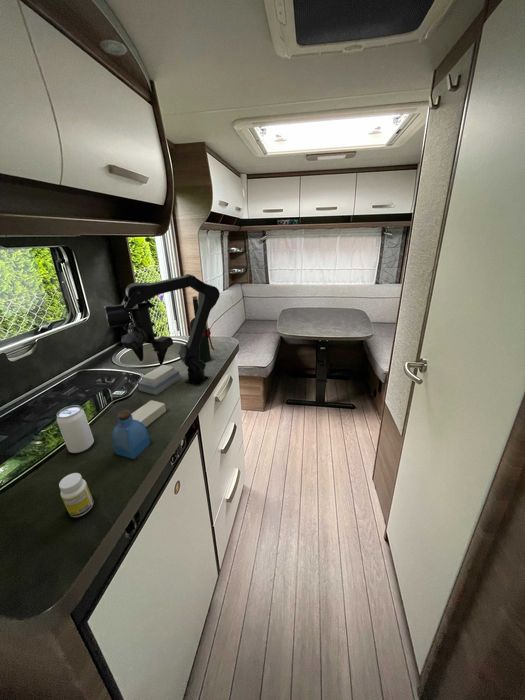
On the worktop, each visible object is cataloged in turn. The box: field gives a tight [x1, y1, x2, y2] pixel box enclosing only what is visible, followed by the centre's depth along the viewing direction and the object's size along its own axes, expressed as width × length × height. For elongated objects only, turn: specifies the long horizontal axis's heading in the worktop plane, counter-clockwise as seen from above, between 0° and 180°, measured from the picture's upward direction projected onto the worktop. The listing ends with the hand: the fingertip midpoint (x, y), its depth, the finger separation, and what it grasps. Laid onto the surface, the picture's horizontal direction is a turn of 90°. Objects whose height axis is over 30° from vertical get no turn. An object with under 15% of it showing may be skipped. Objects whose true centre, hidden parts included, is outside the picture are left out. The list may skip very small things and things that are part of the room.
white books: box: [131, 399, 167, 428], centre depth 90 cm, size 11×6×3 cm, turn 156°
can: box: [56, 404, 95, 454], centre depth 77 cm, size 6×6×12 cm
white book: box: [141, 364, 175, 384], centre depth 109 cm, size 11×6×2 cm, turn 156°
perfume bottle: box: [110, 409, 151, 460], centre depth 76 cm, size 6×6×12 cm
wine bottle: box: [189, 295, 215, 364], centre depth 126 cm, size 8×10×30 cm
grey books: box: [137, 369, 182, 396], centre depth 110 cm, size 14×9×4 cm, turn 156°
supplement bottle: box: [58, 472, 94, 518], centre depth 60 cm, size 5×5×8 cm
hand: (151, 362), depth 101 cm, fingers open, 9 cm apart
